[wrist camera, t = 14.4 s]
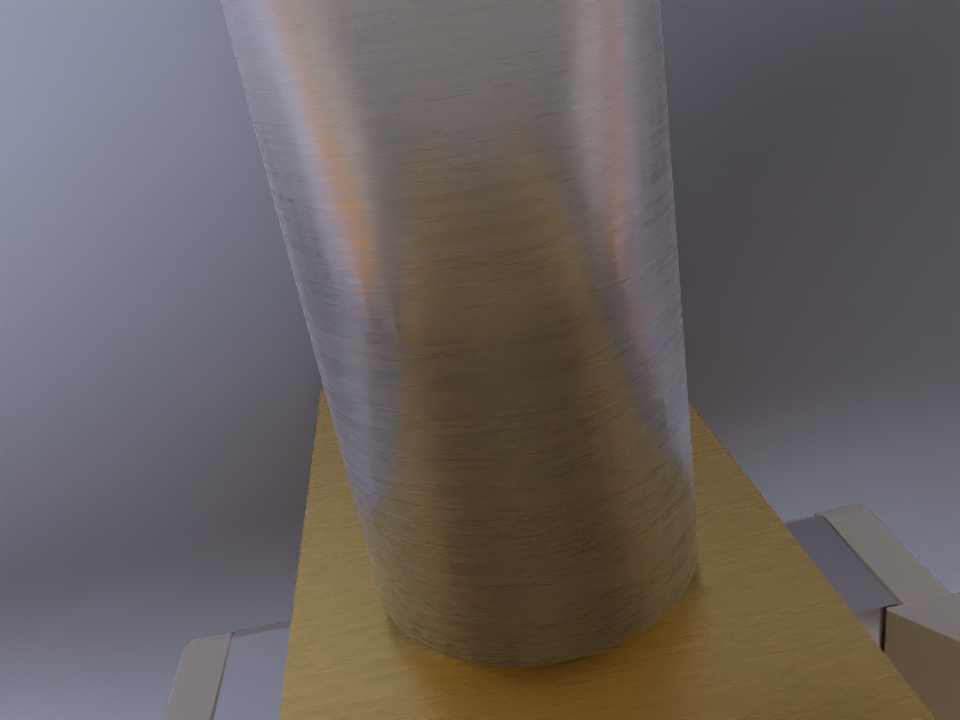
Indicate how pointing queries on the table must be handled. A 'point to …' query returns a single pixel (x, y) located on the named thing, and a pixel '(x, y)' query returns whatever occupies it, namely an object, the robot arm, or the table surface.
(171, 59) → the table surface
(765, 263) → the table surface
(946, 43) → the table surface
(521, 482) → the gold cube on rod
